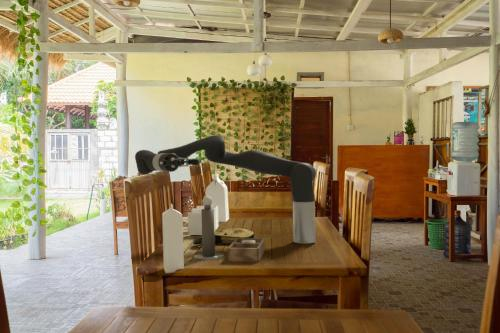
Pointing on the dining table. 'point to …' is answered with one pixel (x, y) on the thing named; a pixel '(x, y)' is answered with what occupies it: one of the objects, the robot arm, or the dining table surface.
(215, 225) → the storage container
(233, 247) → the caddy
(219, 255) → the disc
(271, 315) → the dining table surface
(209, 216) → the pepper mill
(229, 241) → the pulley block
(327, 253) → the dining table surface
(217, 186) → the milk
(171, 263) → the milk
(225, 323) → the dining table surface
